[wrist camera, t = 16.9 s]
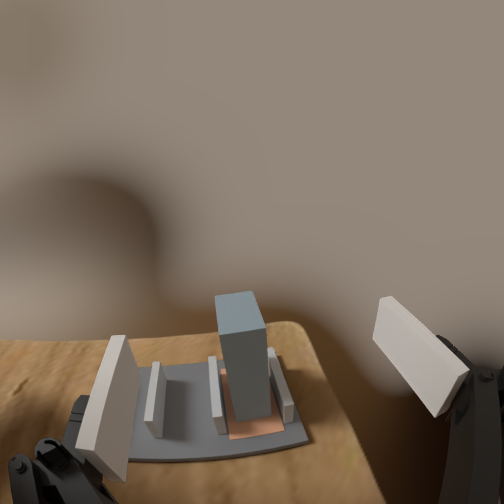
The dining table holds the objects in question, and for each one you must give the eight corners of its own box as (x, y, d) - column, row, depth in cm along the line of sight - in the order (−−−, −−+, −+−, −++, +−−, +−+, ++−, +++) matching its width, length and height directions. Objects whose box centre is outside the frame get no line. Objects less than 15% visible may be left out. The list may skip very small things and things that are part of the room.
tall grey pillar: (236, 422, 27) (219, 335, 23) (229, 381, 34) (214, 296, 29) (271, 416, 28) (265, 327, 23) (259, 376, 34) (252, 290, 30)
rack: (90, 456, 21) (73, 437, 20) (113, 372, 36) (103, 350, 35) (308, 443, 24) (310, 423, 23) (275, 355, 39) (274, 332, 38)
